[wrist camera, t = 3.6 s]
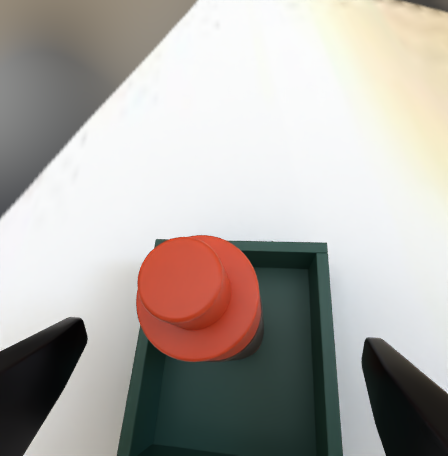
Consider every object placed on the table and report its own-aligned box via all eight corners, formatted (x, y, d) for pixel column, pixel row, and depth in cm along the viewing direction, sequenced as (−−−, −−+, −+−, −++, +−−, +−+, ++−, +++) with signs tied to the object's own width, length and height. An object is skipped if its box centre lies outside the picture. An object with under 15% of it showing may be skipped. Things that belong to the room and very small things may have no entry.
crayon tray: (328, 478, 14) (347, 516, 11) (145, 452, 16) (111, 479, 12) (315, 263, 19) (327, 242, 15) (174, 258, 20) (155, 239, 17)
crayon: (262, 363, 16) (252, 379, 5) (209, 355, 17) (79, 353, 5) (265, 307, 18) (265, 208, 6) (216, 302, 18) (124, 201, 6)
